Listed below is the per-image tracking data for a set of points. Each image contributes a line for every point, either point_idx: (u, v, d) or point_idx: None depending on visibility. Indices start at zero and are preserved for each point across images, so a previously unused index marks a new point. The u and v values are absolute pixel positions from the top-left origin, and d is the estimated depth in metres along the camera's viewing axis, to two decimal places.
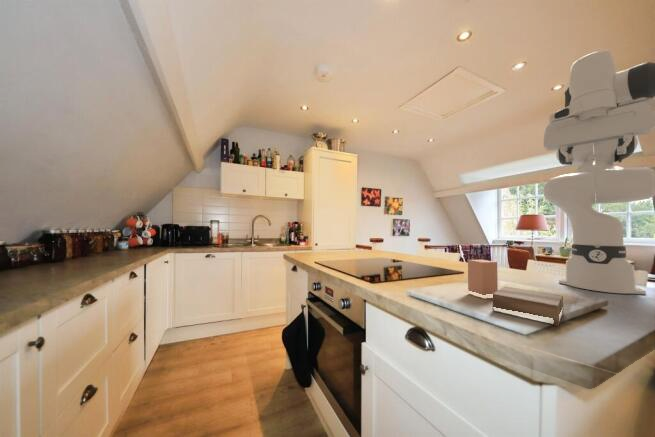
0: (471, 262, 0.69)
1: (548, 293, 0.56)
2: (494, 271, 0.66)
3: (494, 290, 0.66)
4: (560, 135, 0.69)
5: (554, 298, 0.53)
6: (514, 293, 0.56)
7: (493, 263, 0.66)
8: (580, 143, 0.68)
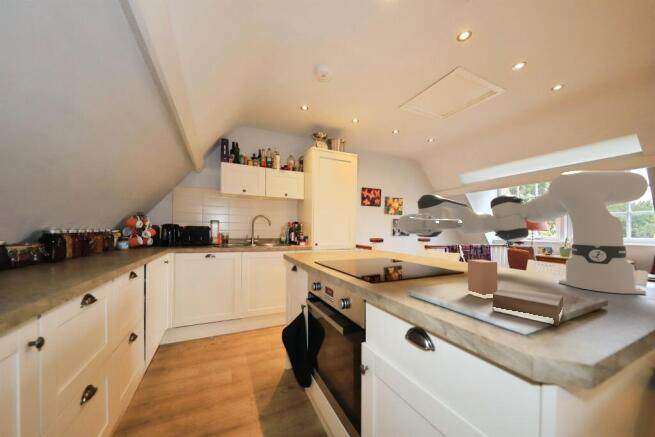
0: (471, 262, 0.69)
1: (548, 293, 0.56)
2: (494, 271, 0.66)
3: (494, 290, 0.66)
4: None
5: (554, 298, 0.53)
6: (514, 293, 0.56)
7: (493, 263, 0.66)
8: (433, 227, 0.86)
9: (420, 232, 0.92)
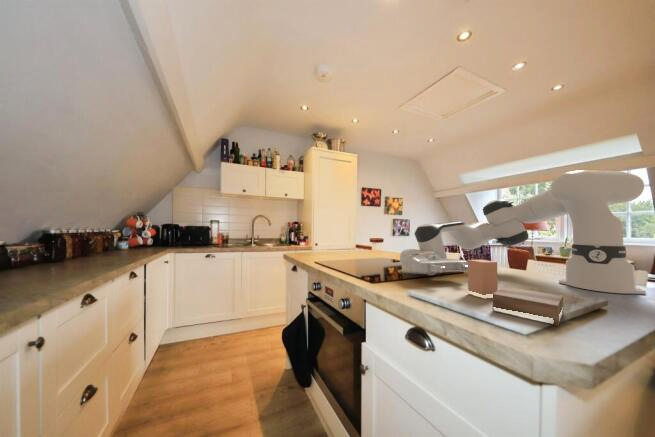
0: (471, 262, 0.69)
1: (548, 293, 0.56)
2: (494, 271, 0.66)
3: (494, 290, 0.66)
4: (424, 261, 0.84)
5: (554, 298, 0.53)
6: (514, 293, 0.56)
7: (493, 263, 0.66)
8: None
9: (424, 272, 0.89)
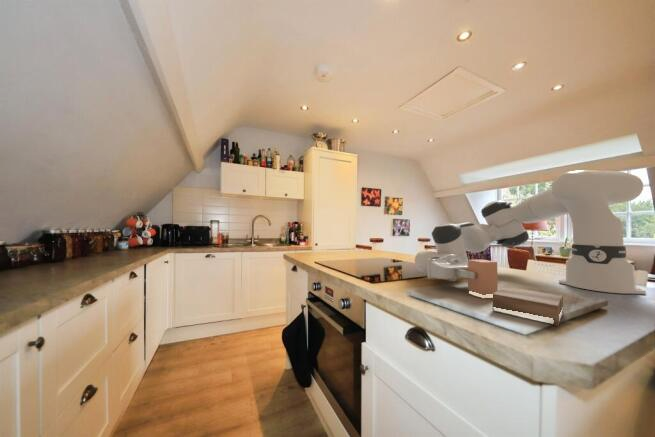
0: (471, 262, 0.69)
1: (548, 293, 0.56)
2: (494, 271, 0.66)
3: (494, 290, 0.66)
4: (446, 265, 0.73)
5: (554, 298, 0.53)
6: (514, 293, 0.56)
7: (493, 263, 0.66)
8: None
9: None
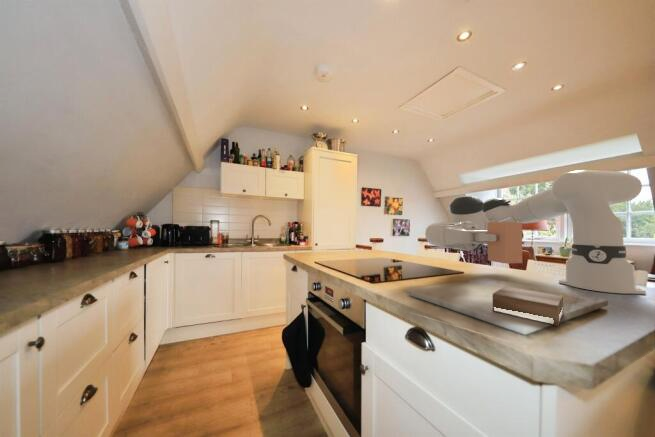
0: (491, 224, 0.61)
1: (548, 293, 0.56)
2: (518, 233, 0.59)
3: (518, 254, 0.58)
4: None
5: (554, 298, 0.53)
6: (514, 293, 0.56)
7: (517, 223, 0.59)
8: (482, 241, 0.64)
9: (460, 247, 0.71)
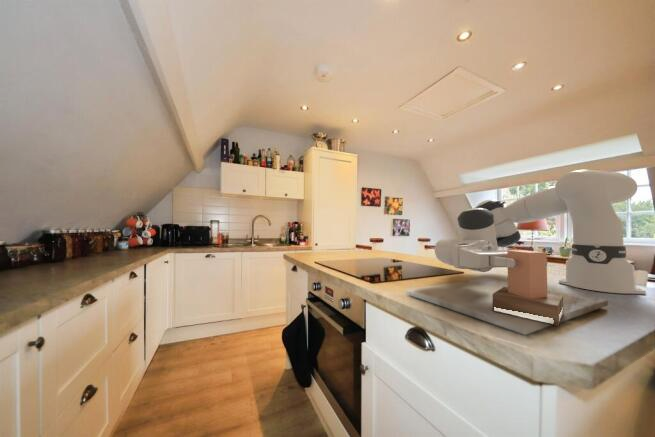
0: (512, 253, 0.56)
1: (548, 293, 0.56)
2: (543, 264, 0.54)
3: (543, 287, 0.53)
4: None
5: (554, 298, 0.53)
6: None
7: (542, 254, 0.54)
8: None
9: (475, 268, 0.66)
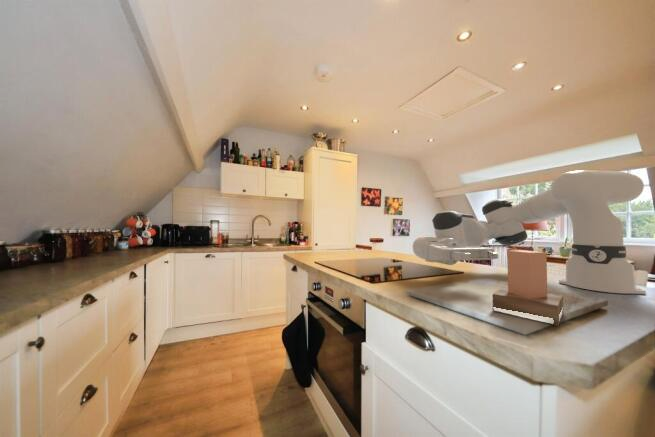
0: (512, 253, 0.56)
1: (548, 293, 0.56)
2: (543, 264, 0.54)
3: (543, 287, 0.53)
4: None
5: (554, 298, 0.53)
6: None
7: (542, 254, 0.54)
8: None
9: (443, 261, 0.78)
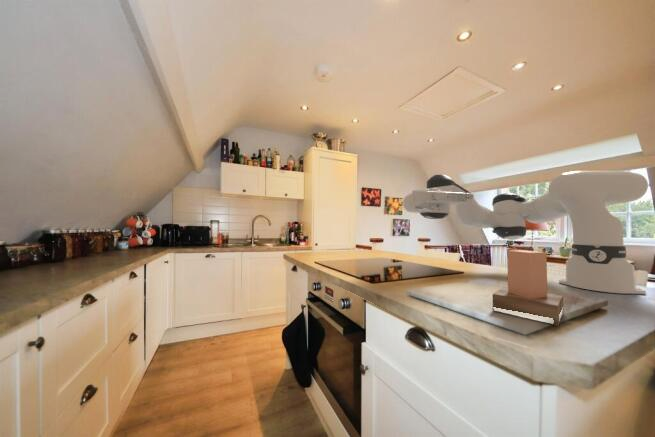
0: (512, 253, 0.56)
1: (548, 293, 0.56)
2: (543, 264, 0.54)
3: (543, 287, 0.53)
4: None
5: (554, 298, 0.53)
6: None
7: (542, 254, 0.54)
8: (442, 200, 0.82)
9: (428, 207, 0.89)
